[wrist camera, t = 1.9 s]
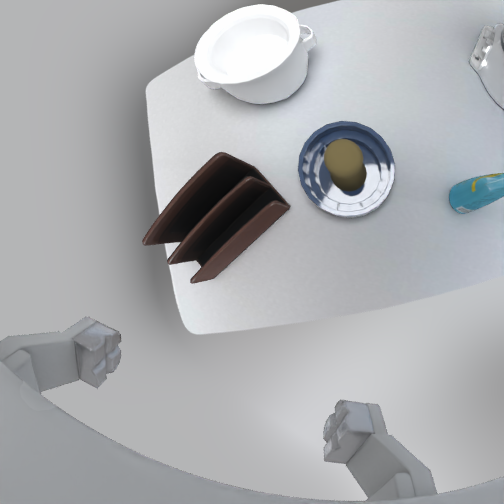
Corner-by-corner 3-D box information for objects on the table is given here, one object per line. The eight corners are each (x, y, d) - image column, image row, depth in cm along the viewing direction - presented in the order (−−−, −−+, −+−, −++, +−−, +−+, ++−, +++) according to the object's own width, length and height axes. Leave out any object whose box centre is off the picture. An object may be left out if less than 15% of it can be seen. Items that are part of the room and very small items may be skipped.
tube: (472, 178, 34) (526, 148, 17) (482, 206, 34) (541, 192, 16) (437, 191, 37) (480, 164, 20) (447, 220, 37) (496, 212, 19)
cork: (325, 185, 44) (313, 171, 34) (335, 150, 43) (325, 127, 33) (361, 196, 42) (359, 185, 32) (370, 161, 41) (371, 139, 31)
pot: (228, 130, 50) (192, 108, 39) (211, 66, 51) (179, 39, 40) (339, 90, 42) (328, 52, 31) (306, 27, 42) (289, -11, 31)
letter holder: (184, 239, 56) (133, 241, 43) (255, 166, 49) (215, 144, 36) (213, 279, 54) (166, 293, 41) (291, 207, 47) (261, 197, 34)
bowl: (324, 120, 44) (319, 109, 39) (403, 153, 39) (407, 144, 34) (292, 195, 47) (283, 191, 42) (371, 233, 42) (371, 233, 38)
